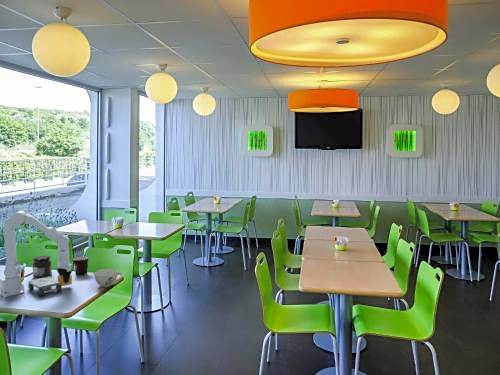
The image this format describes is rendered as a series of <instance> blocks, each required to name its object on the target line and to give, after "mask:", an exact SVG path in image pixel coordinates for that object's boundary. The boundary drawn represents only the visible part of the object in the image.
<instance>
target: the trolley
mask: <svg viewBox="0 0 500 375" xmlns="http://www.w3.org/2000/svg"><path fill="white" fill-rule="evenodd" d="M51 287H55V288H52V289H47V290H44V289H46V288H51ZM62 287H63V286H61V282H59V281H58V279H55V278H53V277H51V276H50V277H45V278H40V279H36V278H34V279H31V280H28V284H27V288H28V290H29V291H33V290H34V288H36V289H37V294H38V297H39V298H42V297H45V294H46V293H49V292H50V293H51V292H54V291H55V292H56V293H57V294H60V293H62V291H63V288H62Z"/></svg>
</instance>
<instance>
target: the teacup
mask: <svg viewBox="0 0 500 375" xmlns="http://www.w3.org/2000/svg"><path fill="white" fill-rule="evenodd" d="M119 275H120V276H119ZM93 276H94V280H95V282H96V283H97V284H98V285H99V286H100V287H101V288H108V287H111V286H112V285H113V284H114V283H115V282H117V281H119V280H120V279H122V277H123V273H122V272H121V271H119V272H118V270H117V269H113V268H103V269H98V270H96V271H94V272H93ZM118 276H119V277H118Z"/></svg>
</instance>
